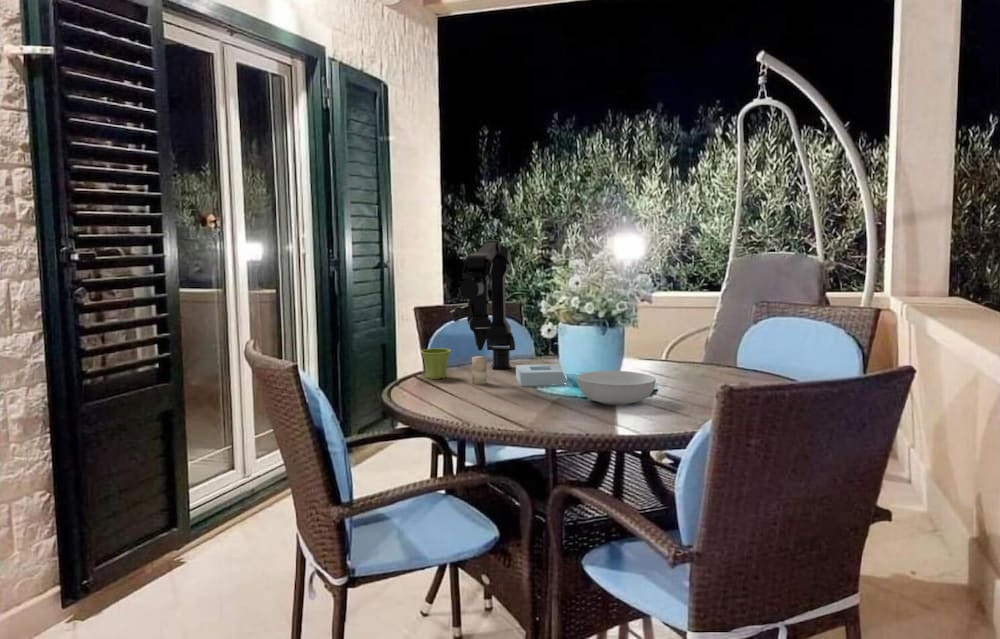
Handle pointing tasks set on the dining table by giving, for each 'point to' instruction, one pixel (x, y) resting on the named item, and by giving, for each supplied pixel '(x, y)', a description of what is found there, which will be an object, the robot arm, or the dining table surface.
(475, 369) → the birch peg
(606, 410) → the dining table surface
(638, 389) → the serving bowl
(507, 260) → the robot arm
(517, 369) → the socket block
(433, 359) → the plant pot
